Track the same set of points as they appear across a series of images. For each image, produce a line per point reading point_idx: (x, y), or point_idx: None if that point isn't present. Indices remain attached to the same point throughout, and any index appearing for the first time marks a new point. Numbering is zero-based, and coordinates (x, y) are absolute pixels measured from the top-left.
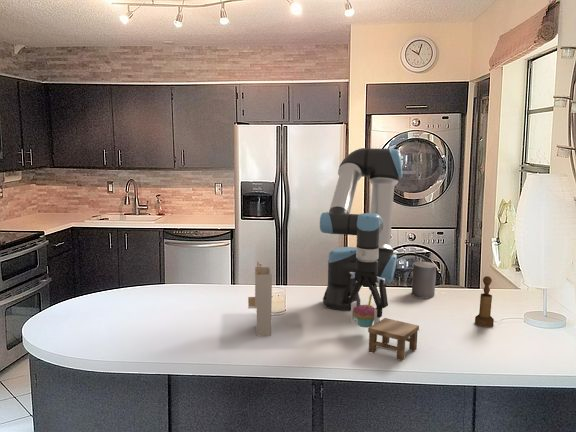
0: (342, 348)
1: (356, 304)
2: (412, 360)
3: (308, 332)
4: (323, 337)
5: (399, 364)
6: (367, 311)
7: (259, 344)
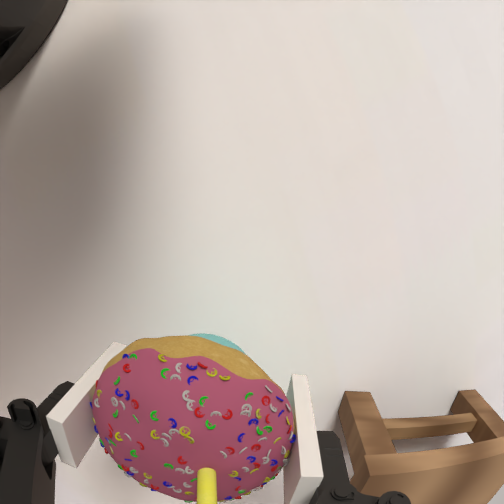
0: None
1: (75, 410)
2: None
3: None
4: (97, 439)
5: None
6: (229, 499)
7: None
